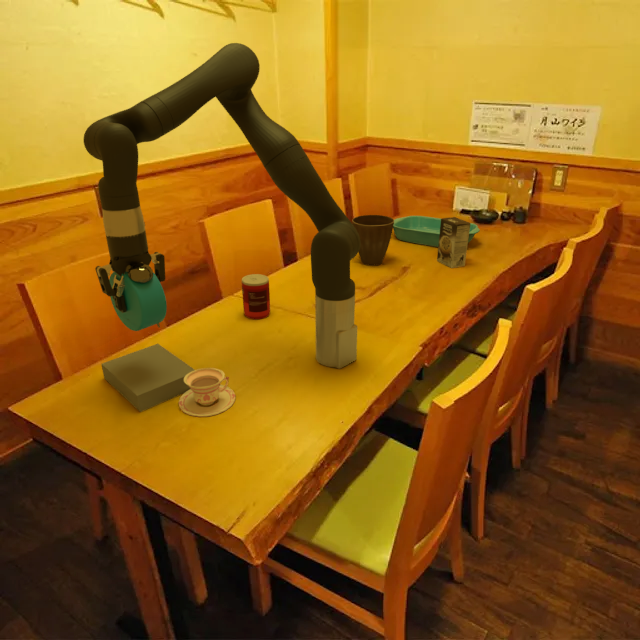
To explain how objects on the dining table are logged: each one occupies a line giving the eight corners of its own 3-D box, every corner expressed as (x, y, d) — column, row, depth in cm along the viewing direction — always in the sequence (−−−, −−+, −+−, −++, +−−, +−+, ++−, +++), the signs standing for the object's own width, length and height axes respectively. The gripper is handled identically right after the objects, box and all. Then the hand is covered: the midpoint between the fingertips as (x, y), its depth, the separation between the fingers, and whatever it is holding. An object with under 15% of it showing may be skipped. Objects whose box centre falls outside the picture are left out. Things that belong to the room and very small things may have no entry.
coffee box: (436, 261, 193) (440, 218, 186) (450, 258, 195) (454, 216, 188) (451, 268, 185) (456, 224, 178) (465, 266, 188) (471, 222, 181)
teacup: (179, 421, 105) (175, 396, 102) (178, 390, 115) (175, 366, 113) (238, 413, 107) (236, 387, 105) (233, 382, 118) (230, 359, 115)
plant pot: (369, 272, 182) (371, 227, 175) (343, 261, 193) (343, 218, 186) (400, 263, 190) (403, 220, 183) (373, 253, 201) (374, 212, 194)
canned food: (257, 306, 156) (254, 272, 151) (276, 313, 151) (274, 278, 147) (238, 314, 151) (235, 279, 146) (257, 322, 146) (255, 285, 141)
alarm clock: (171, 330, 110) (161, 263, 103) (145, 340, 106) (133, 271, 99) (138, 313, 118) (127, 250, 111) (113, 322, 114) (100, 257, 107)
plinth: (198, 386, 116) (197, 371, 114) (140, 412, 108) (137, 395, 106) (160, 357, 128) (157, 343, 126) (104, 378, 119) (101, 363, 118)
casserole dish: (381, 240, 218) (382, 223, 215) (404, 228, 235) (405, 212, 231) (466, 255, 199) (468, 237, 196) (485, 241, 216) (487, 224, 213)
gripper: (150, 219, 109) (161, 292, 117) (81, 233, 101) (97, 311, 108) (167, 226, 105) (177, 302, 112) (96, 241, 96) (113, 322, 103)
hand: (138, 306), depth 110 cm, fingers closed on alarm clock, 6 cm apart
